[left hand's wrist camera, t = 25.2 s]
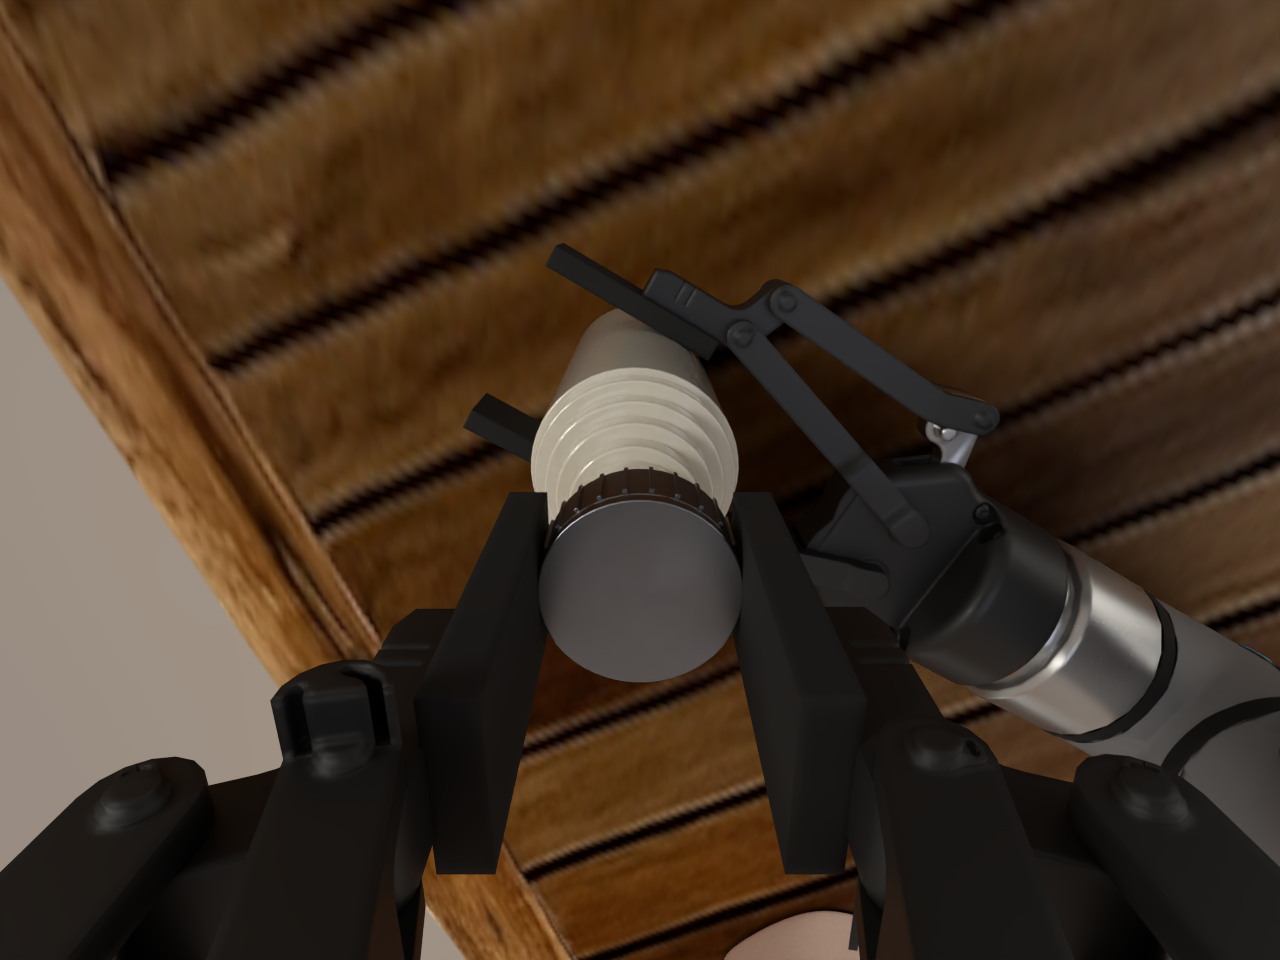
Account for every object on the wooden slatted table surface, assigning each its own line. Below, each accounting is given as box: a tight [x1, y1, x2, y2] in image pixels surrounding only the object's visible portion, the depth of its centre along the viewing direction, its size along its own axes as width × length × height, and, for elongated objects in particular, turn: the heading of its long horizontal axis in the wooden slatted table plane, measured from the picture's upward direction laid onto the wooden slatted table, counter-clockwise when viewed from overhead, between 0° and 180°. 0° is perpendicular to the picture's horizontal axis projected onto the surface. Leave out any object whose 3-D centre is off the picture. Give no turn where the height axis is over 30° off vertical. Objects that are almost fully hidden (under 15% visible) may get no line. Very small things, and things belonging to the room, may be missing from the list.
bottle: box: [531, 309, 739, 525], centre depth 24 cm, size 6×6×20 cm
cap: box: [538, 467, 743, 682], centre depth 14 cm, size 4×4×2 cm
